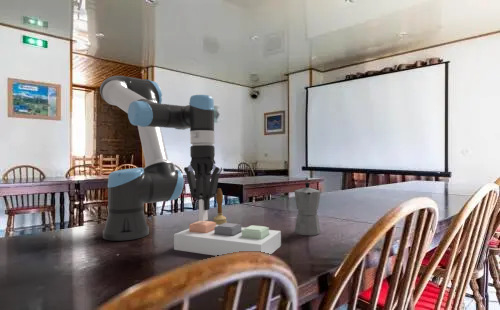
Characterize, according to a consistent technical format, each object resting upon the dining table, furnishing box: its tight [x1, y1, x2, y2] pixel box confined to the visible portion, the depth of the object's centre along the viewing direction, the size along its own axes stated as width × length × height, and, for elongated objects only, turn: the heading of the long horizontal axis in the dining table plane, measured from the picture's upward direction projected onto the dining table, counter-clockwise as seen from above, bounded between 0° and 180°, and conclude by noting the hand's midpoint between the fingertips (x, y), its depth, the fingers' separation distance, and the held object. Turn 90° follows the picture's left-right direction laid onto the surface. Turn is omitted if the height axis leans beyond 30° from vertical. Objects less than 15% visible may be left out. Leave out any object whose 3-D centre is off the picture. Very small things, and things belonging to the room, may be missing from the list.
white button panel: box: [173, 225, 282, 257], centre depth 96 cm, size 28×16×5 cm, turn 66°
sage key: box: [242, 224, 270, 240], centre depth 92 cm, size 6×6×3 cm
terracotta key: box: [188, 220, 216, 233], centre depth 99 cm, size 6×6×3 cm
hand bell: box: [213, 187, 228, 225], centre depth 115 cm, size 8×8×16 cm
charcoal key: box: [215, 222, 242, 236], centre depth 96 cm, size 6×6×3 cm
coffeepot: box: [293, 182, 322, 236], centre depth 115 cm, size 15×9×18 cm, turn 174°
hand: (203, 220), depth 99 cm, fingers closed
